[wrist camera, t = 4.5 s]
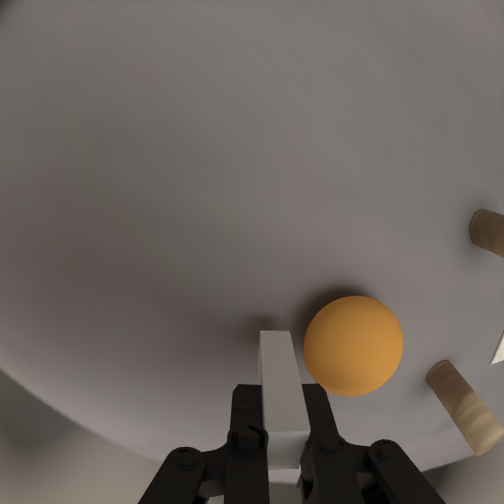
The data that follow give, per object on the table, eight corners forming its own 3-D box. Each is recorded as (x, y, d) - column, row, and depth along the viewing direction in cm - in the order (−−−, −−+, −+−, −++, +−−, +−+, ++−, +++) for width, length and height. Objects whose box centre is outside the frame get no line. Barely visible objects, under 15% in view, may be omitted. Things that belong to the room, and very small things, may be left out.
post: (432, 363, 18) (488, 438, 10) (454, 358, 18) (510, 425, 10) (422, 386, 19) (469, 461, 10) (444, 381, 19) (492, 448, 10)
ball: (384, 346, 10) (432, 308, 13) (290, 291, 14) (355, 273, 17) (344, 432, 11) (399, 385, 14) (275, 375, 15) (336, 345, 19)
